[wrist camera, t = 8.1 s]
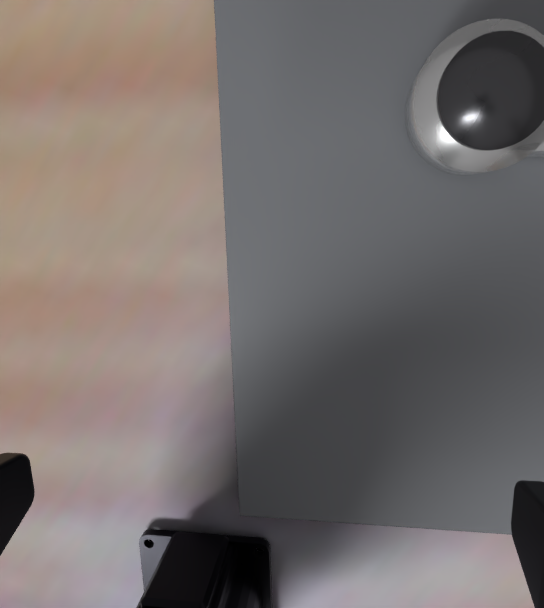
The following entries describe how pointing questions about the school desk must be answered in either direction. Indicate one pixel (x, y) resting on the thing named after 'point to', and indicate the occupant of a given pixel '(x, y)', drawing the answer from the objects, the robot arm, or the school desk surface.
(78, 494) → the school desk surface
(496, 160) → the link
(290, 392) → the base plate
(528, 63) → the glossy black ball
